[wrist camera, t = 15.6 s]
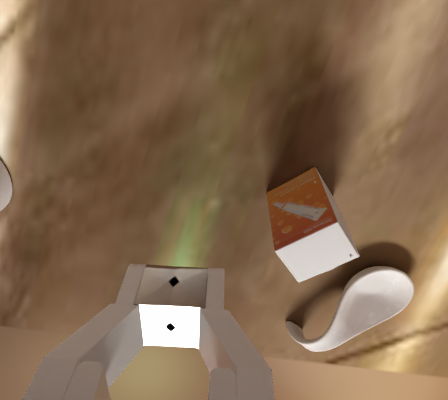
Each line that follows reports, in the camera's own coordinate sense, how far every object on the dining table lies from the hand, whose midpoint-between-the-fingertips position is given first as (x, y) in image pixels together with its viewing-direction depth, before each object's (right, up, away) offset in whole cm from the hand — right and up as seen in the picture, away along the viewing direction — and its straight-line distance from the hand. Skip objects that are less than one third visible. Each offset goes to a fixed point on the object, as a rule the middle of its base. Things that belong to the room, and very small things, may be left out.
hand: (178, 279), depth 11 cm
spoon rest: (+23, -15, +52) cm, 59 cm away
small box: (+13, +4, +40) cm, 42 cm away
